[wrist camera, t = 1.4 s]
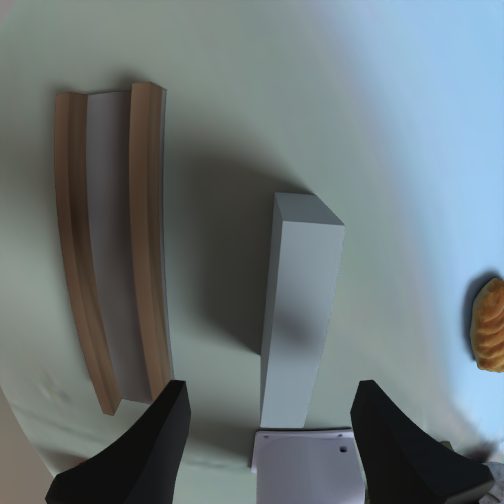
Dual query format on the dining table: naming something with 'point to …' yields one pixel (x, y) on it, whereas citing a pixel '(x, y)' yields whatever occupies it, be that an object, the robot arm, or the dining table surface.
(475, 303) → the pastry
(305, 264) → the door panel
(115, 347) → the floor track
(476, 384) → the dining table surface
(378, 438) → the robot arm
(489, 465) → the decorative orb
